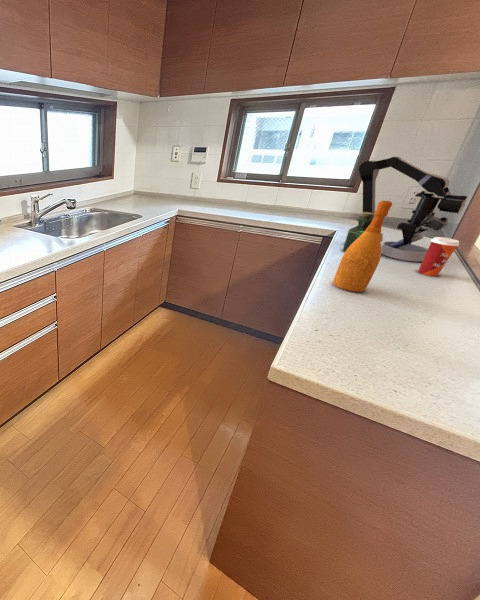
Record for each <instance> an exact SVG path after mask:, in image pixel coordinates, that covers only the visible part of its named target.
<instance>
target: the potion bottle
mask: <svg viewBox="0 0 480 600" xmlns="http://www.w3.org/2000/svg"><path fill="white" fill-rule="evenodd" d="M372 215H373V213H369V212H363V211H361V216H362V217H361V216H358V217H357V218H356V221H358V223H357V225H356V226H357V227H356V226H353V227H350V228H349V229H348V231H347V234H346V237H345V241H344V243H345V244H343V248H342V251H343V252H344V253H345V252H346V250H347V249H348V248H349V246H350V245H351V244H352V243H353V242H354V241H355V240H356V239H358V238H359V237H360V236H361V235H362V234H363V233H364V232H365V230H366V229H367V228H366V226H367V225H368V224H369V223H370V222H372V220H373V219H371V216H372Z"/></svg>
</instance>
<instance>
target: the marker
mask: <svg viewBox="0 0 480 600" xmlns="http://www.w3.org/2000/svg"><path fill="white" fill-rule="evenodd" d="M423 239H424V236H423V234H422V233H416V234H415V235H414V236H413V238H412V239H411V240H410V242H409V243H411V244H413V243H415V242H417V241H421V240H423ZM394 242H395V243H392V244H390V245H387V246H389V247H392V248H396V249H397V248H399V247H402V246H404V242H403V238H402V239H400V240H398V241H394ZM409 243H408V244H409Z"/></svg>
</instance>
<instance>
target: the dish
mask: <svg viewBox="0 0 480 600" xmlns="http://www.w3.org/2000/svg"><path fill="white" fill-rule="evenodd" d="M395 242H396V241H390V240H389V241H388V240H387V241H382V242H381V255H383V256H386V257H388V258H391V259H394V260H399V261H404V262H415V263H416V262H417V263H418V262H422V261H423V259H424V257H425V255H426V252H427V250H428V248H427V247H424V246H421V245H417V244H413V243H411V244H407V245H404V246H402V247H399V248H397V249H396V248H392V247H389V246H387V245H390V244H392V243H395Z"/></svg>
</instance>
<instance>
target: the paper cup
mask: <svg viewBox="0 0 480 600" xmlns="http://www.w3.org/2000/svg"><path fill="white" fill-rule="evenodd" d="M459 246H460V241H459V239H455V238H449V237H443V236H434V237H433V238H432V239H431V240H430V244H429V246H428V248H427V249H428V250H427V252H426V255H425V257H424V259H423V261H421V264H420V266H419V268H418V270H417V272H418V274H421V275H424V276H428V277H437V276H438V275H439V274H440V273H441V271H442V269H443V268H444V267H445V265H446V264H447V263H448V261H449V260H450V258H451V256H452V255H453V253H454V252H455V251H456V249H457V247H459Z"/></svg>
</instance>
